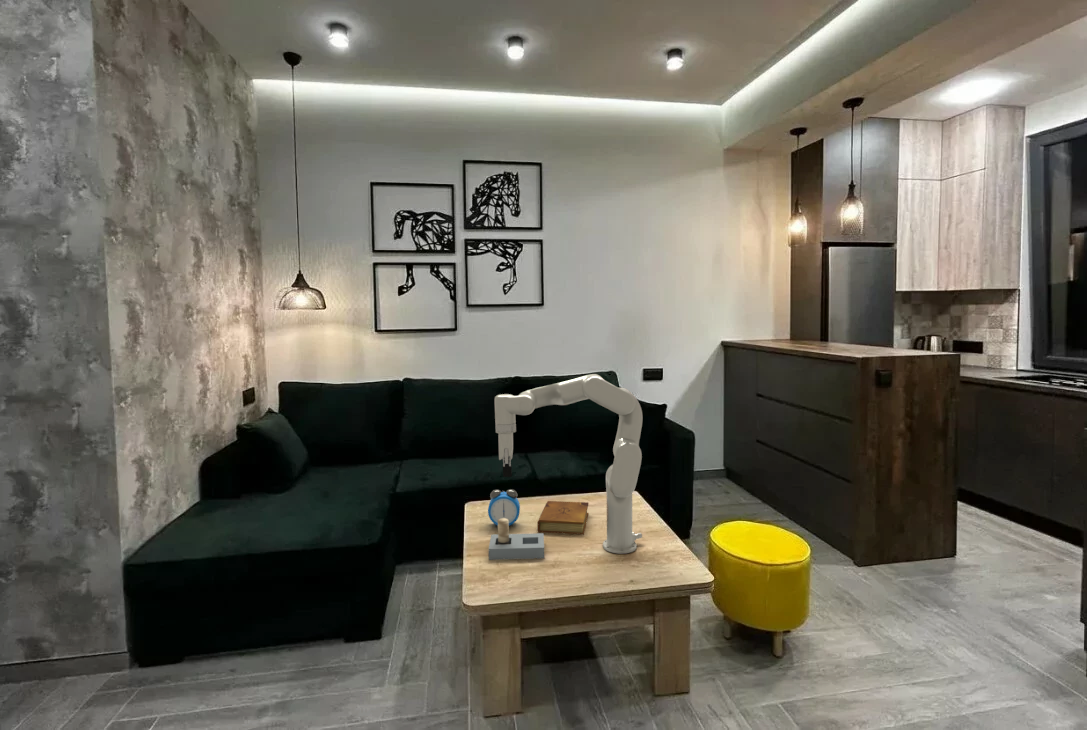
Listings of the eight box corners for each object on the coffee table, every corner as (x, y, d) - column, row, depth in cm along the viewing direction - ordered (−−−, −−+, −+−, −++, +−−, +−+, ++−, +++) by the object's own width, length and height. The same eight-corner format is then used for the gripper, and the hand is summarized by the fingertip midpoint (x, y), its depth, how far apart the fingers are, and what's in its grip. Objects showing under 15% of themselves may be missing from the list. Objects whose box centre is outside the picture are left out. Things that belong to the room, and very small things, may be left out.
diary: (546, 513, 243) (546, 500, 242) (588, 515, 239) (588, 502, 239) (537, 533, 220) (537, 519, 219) (583, 535, 217) (583, 521, 216)
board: (543, 543, 209) (543, 533, 209) (544, 558, 196) (544, 547, 196) (491, 544, 209) (491, 534, 208) (488, 559, 196) (488, 549, 195)
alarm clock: (488, 527, 225) (487, 492, 224) (489, 522, 232) (488, 487, 230) (519, 527, 226) (519, 491, 224) (520, 521, 232) (519, 487, 230)
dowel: (506, 548, 205) (505, 517, 204) (511, 552, 202) (510, 520, 200) (496, 550, 203) (495, 519, 202) (501, 555, 199) (500, 523, 198)
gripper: (496, 424, 209) (498, 471, 210) (494, 432, 194) (496, 482, 196) (515, 423, 209) (517, 470, 211) (515, 431, 194) (517, 481, 196)
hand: (507, 476), depth 203 cm, fingers closed
